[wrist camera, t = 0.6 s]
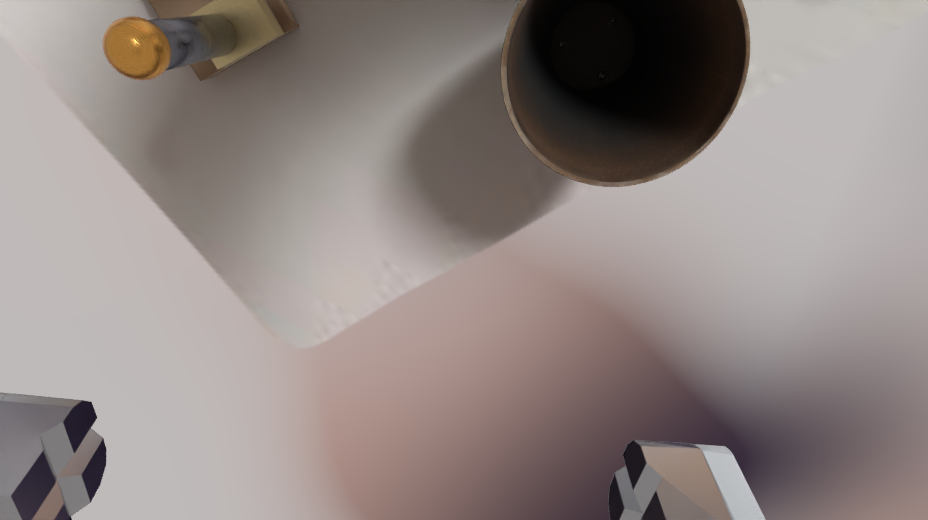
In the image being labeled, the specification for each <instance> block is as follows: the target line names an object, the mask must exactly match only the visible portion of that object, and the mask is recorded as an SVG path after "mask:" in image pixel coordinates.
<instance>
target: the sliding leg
mask: <svg viewBox="0 0 928 520" xmlns="http://www.w3.org/2000/svg"><path fill="white" fill-rule="evenodd" d="M283 34H285V33H284V32H283V30H282V28H281V26H280V25H279V23H278V21H277V20H276V18H275V16H274V14H273V13H272V11H271V9H270V7H269V6H268V4H267V2H266V0H214V1H212V2H211V3H209V4H207V5H206V6H204V7H202V8H201V9H199V10H197V11H196V12H194V13H193V14H191V15H189V16H187V17H176V18H166V19H156V20H146V19H143V18H139V17H124V18H121V19H118V20H116V21H114V22H113V23H112V24H111V25H110V26H109V27H108V28H107V30H106V32H105V34H104V38H103V49H104V53H105V56H106V58H107V60H108V61H109V63H110V64H111V65H112V66H113V68H114V69H116V70H117V71H118V72H119V73H121V74H122V75H124V76H126V77H129V78H131V79H135V80H150V79H153V78H156V77H158V76H160V75H161V74H162V73H163V72H164V71H165V70H169V69H173V68H177V67H181V66H185V65H189V64H193V63H197V62H201V61H205V60H209V59H211V60H212V61H213V63H214V64H215V66H216V68H217V69H221V68H225V67H228V66H229V65H231V64H233V63H235V62H236V61H238V60H240V59H242V58H243V57H245V56H247V55H249V54H250V53H252V52H254V51H256V50H257V49H259V48H261V47H263V46H264V45H266V44H268V43H269V42H271V41H273V40H275V39H276V38H278V37H280V36H282V35H283Z"/></svg>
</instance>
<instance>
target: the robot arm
mask: <svg viewBox="0 0 928 520" xmlns="http://www.w3.org/2000/svg"><path fill="white" fill-rule="evenodd" d="M96 419H97V416H96V413H95V410H94V408H93V405H92V402H88V401H83V400H73V399H63V398H52V397H43V396H33V395H22V394H9V393H0V520H72V519H71V516H72V515H73V514H75V513H76V512H78V511H79V510H80V509H82V508H83V507H85V506H86V505H88V504H89V503H90V502H91V501H92V499H93V497H94V495H95V493H96V491H97V489H98V488H99V486H100V483H101V480H102V476H103V473H104V469H105V466H106V447H105V443H104V439H103V438H102V437H101V436H100V435H99V434H97V433H96V432H95V431H94V430H92V429H91V426H92V425H93V423H94V422H95V420H96ZM623 458H624V461H625V464H626V466H625V467H623V468H622V469H620V470H619V471H617V472H616V473H615V474H614V477H613V479H612V482H611V484H610V489H609V500H608V501H609V502H608V506H609V515H610V520H765V518H764V516H763V514H762V512H761V510H760V508H759V506H758V504H757V502H756V500H755V498H754V496H753V494H752V492H751V490H750V488H749V486H748V484H747V482H746V480H745V478H744V476H743V474H742V472H741V470H740V468H739V466H738V464H737V462H736V460H735V458H734V456H733V454H732V452H731V451H730V450H729V449H728V448H726V447H725V446H712V445H711V446H710V445H697V444H693V445H692V444H690V443H675V442H659V441H642V440H633V441H631V442H630V443H629V444H628V445H627V447H626V449H625V451H624V453H623Z"/></svg>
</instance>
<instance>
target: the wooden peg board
mask: <svg viewBox="0 0 928 520" xmlns="http://www.w3.org/2000/svg"><path fill="white" fill-rule="evenodd" d="M212 1H214V0H149V2H150V3H151V5H152V7H153V8H154V10H155V11H156V13H157V14H158V16H159V17H160V19H166V18H176V17H187V16H189V15H191V14H193V13H194V12H196V11H197V10H199V9H201V8H202V7H204V6H206V5H207V4H209V3H211V2H212ZM266 2H267V4H268V6H269V7H270V9H271V11H272V13H273V14H274V16H275V18H276V20H277V21H278V23H279V25H280V26H281V28H282V30H283V32H284V33H285V34H287V33H289V32H290V31H292V30H294V29H296V28H297V27H299V25H298V24H297V22H296V20H295V18H294V17H293V15H292V13H291V11H290V9H289V8H288V6H287V4H286V2H285V1H284V0H266ZM285 34H283V35H285ZM283 35H282V36H283ZM282 36H280V37H282ZM280 37H278V38H280ZM278 38H276V39H278ZM276 39H275V40H276ZM275 40H273V41H275ZM273 41H271V42H273ZM271 42H269V43H271ZM269 43H268V44H269ZM268 44H266V45H268ZM266 45H264V46H266ZM264 46H263V47H264ZM261 48H262V47H261ZM261 48H259V49H261ZM259 49H257V50H259ZM257 50H256V51H257ZM254 52H255V51H254ZM254 52H252V53H254ZM252 53H250V54H252ZM250 54H249V55H250ZM247 56H248V55H247ZM247 56H245V57H247ZM245 57H243V58H245ZM243 58H242V59H243ZM240 60H241V59H240ZM240 60H238V61H240ZM238 61H236V62H238ZM236 62H235V63H236ZM233 64H234V63H233ZM233 64H231V65H233ZM190 65H191V67H192V68H193V70H194V72H195V73H196V75H197V76H198V78H199V79H200V81H202V80H205V79H208V78H210V77H212V76H214V75H215V74H217V73H219V72H221V71H222V70H224V69H226V68H228V67H229V66H231V65H229V66H228V67H225V68H221V69H217V68H216V66H215V64H214V63H213V61H212V60H211V59H209V60H205V61H201V62H197V63H193V64H190Z"/></svg>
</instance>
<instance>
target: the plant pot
mask: <svg viewBox="0 0 928 520" xmlns="http://www.w3.org/2000/svg"><path fill="white" fill-rule="evenodd" d="M611 19H614V20H615V23H614V24H612V23H611V22H609V21H610V20H611ZM561 41H564V42H565V43H564V47H563V48H561V47H560V42H561ZM749 59H750V31H749V24H748V18H747V15H746V11H745V8H744V5H743V2H742V0H521V1H520V2H519V4H518V6H517V8H516V10H515V12H514V14H513V16H512V18H511V21H510V24H509V27H508V30H507V33H506V37H505V41H504V45H503V51H502V58H501V84H502V92H503V97H504V102H505V106H506V109H507V112H508V115H509V117H510V120H511V122H512V124H513V126H514V128H515V130H516V131H517V133H518V135H519V136H520V138H521V140H522V141H523V143H524V144H525V145H526V146H527V148H528V149H529V150H530V151H531V152H532V153H533V154H534V155H535V156H536V157H537V158H538V159H539V160H540V161H542V162H543V163H544V164H545V165H547V166H548V167H550V168H551V169H553V170H554V171H556V172H558V173H559V174H561V175H563V176H565V177H568V178H570V179H573V180H575V181H578V182H582V183H586V184H590V185H595V186H604V187H621V186H630V185H636V184H641V183H645V182H648V181H652V180H654V179H657V178H660V177H663V176H665V175H667V174H669V173H671V172H673V171H675V170H677V169H679V168H681V167H682V166H683V165H685V164H686V163H688V162H689V161H691V160H692V159H694V158H695V157H696V156H697V155H698V154H700V153H701V152H702V151H703V150H704V149H705V148H706V147H707V146H708V145H709V144H710V143H711V142H712V141H713V140H714V139H715V138H716V136H717V135H718V134H719V132H720V131H721V130H722V129H723V127H724V126H725V124H726V123H727V121H728V120H729V118H730V117H731V115H732V113H733V111H734V109H735V107H736V105H737V103H738V101H739V99H740V96H741V94H742V91H743V88H744V85H745V81H746V77H747V73H748V67H749ZM600 72H603V73H604V74H605V76H604V78H603V79H600V78H599V76H598V74H599V73H600Z"/></svg>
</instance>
